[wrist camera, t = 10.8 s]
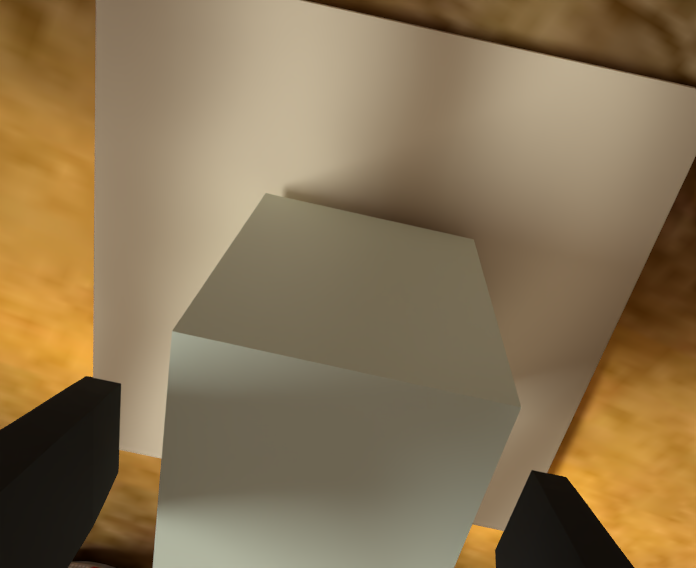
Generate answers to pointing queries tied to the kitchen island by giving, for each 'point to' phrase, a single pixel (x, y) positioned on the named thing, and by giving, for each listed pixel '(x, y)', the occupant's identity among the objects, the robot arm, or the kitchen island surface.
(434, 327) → the pale green matte block
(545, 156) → the flat beige square board
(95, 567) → the soda can
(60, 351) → the kitchen island surface
